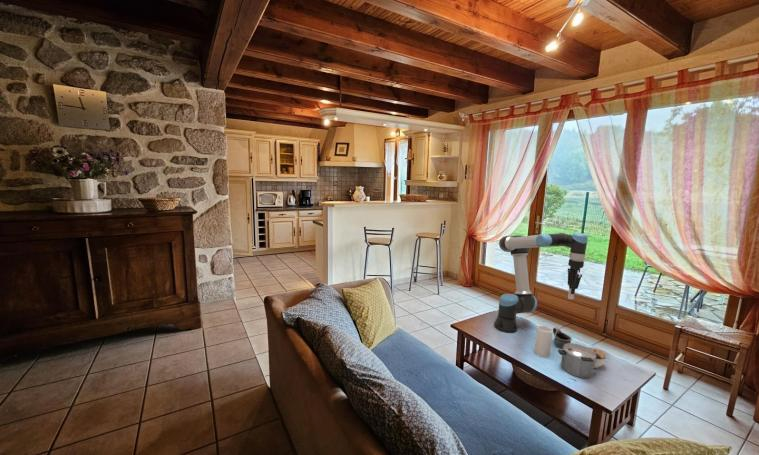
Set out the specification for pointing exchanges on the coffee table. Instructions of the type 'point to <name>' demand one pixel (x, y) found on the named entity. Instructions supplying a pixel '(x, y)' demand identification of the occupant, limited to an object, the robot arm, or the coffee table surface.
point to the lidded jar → (598, 361)
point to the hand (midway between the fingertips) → (570, 298)
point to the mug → (561, 337)
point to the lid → (580, 352)
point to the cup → (543, 341)
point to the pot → (577, 365)
